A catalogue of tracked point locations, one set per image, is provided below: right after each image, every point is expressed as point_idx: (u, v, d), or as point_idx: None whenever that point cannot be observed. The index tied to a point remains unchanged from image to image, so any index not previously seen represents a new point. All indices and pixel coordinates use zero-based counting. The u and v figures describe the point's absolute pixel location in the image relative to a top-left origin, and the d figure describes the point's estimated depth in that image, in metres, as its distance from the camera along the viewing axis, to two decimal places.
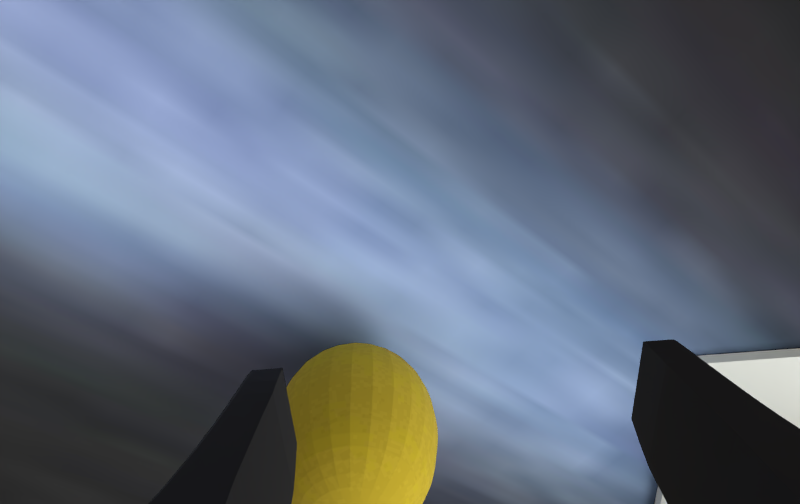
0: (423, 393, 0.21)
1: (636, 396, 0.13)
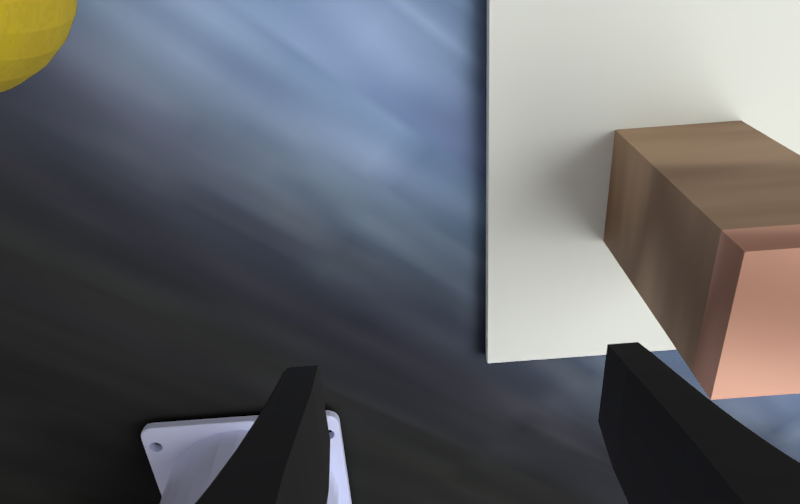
0: None
1: (602, 399, 0.13)
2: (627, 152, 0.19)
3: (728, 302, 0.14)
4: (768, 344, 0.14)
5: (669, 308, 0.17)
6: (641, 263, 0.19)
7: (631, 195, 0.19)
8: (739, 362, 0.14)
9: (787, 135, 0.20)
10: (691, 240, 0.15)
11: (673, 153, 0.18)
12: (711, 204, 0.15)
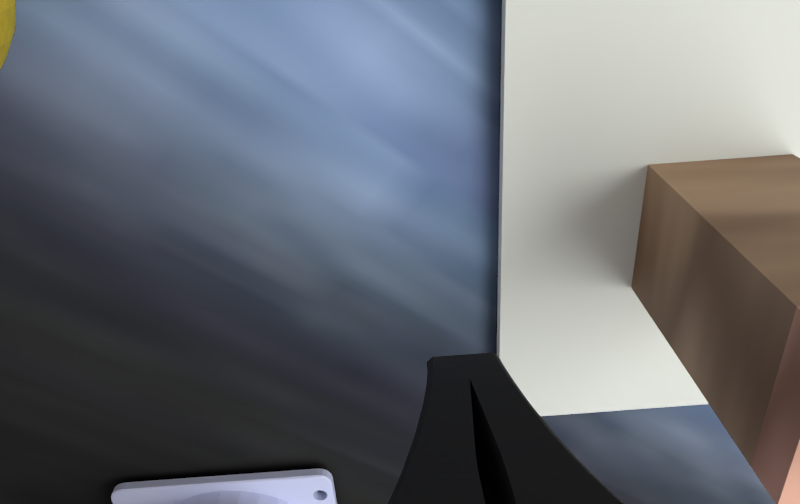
0: None
1: None
2: (663, 192, 0.17)
3: None
4: None
5: (718, 383, 0.14)
6: (681, 323, 0.16)
7: (668, 242, 0.16)
8: None
9: None
10: (752, 310, 0.13)
11: (720, 196, 0.15)
12: (778, 269, 0.12)
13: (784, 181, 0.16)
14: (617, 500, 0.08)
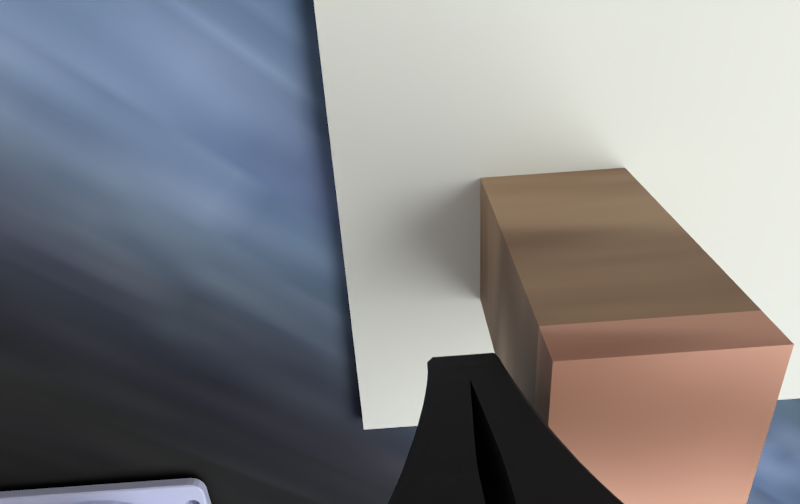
0: None
1: None
2: (487, 206, 0.17)
3: (546, 416, 0.11)
4: (600, 463, 0.12)
5: None
6: (499, 337, 0.16)
7: (491, 256, 0.16)
8: None
9: (679, 184, 0.18)
10: (523, 327, 0.13)
11: (531, 211, 0.15)
12: (543, 287, 0.12)
13: (600, 196, 0.16)
14: (617, 500, 0.08)
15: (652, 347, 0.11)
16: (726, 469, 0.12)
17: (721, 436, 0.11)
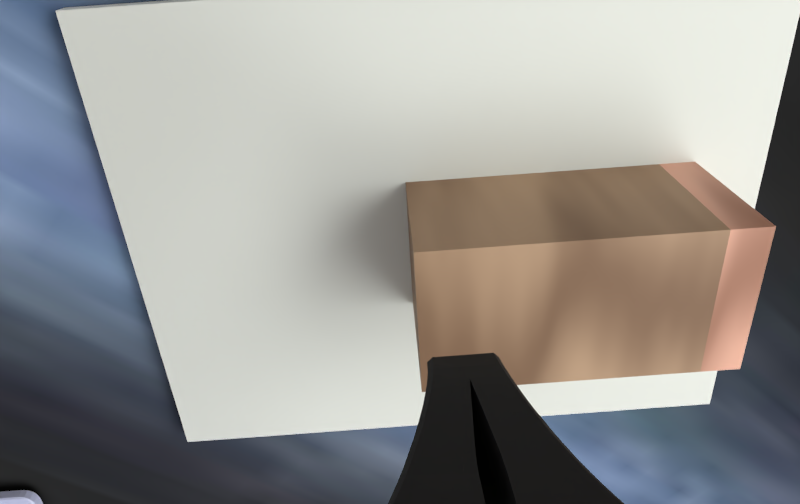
0: None
1: None
2: (467, 261, 0.14)
3: (755, 279, 0.15)
4: None
5: (637, 351, 0.16)
6: (553, 351, 0.15)
7: (499, 300, 0.15)
8: None
9: None
10: (671, 267, 0.14)
11: (511, 226, 0.15)
12: (666, 226, 0.14)
13: (474, 195, 0.16)
14: (617, 500, 0.08)
15: (728, 195, 0.15)
16: None
17: None
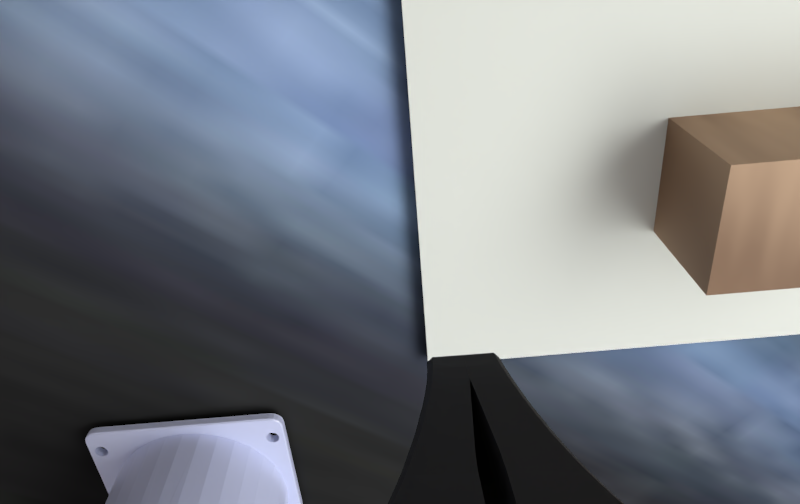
0: None
1: None
2: (775, 173, 0.16)
3: None
4: None
5: None
6: None
7: (793, 208, 0.17)
8: None
9: None
10: None
11: None
12: None
13: (743, 125, 0.19)
14: (617, 500, 0.08)
15: None
16: None
17: None
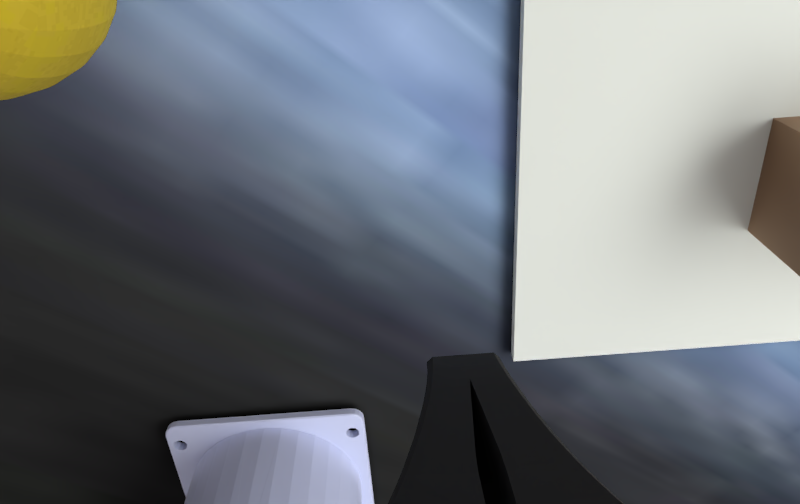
0: None
1: None
2: None
3: None
4: None
5: None
6: None
7: None
8: None
9: None
10: None
11: None
12: None
13: None
14: (617, 500, 0.08)
15: None
16: None
17: None
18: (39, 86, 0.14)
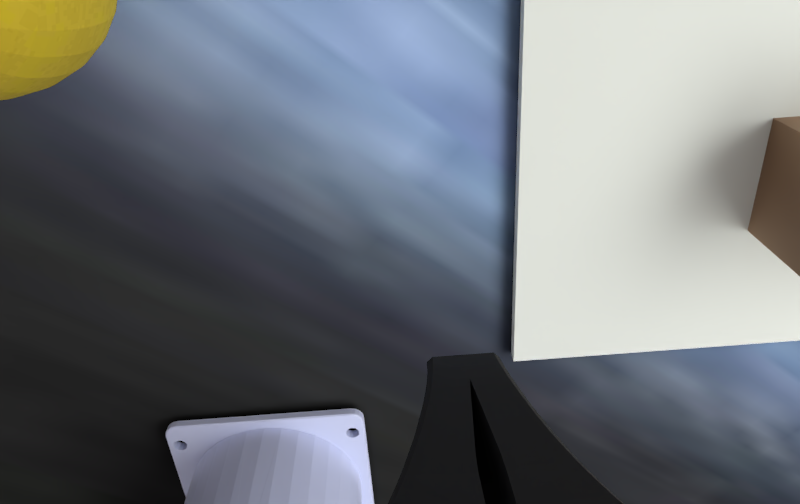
0: None
1: None
2: None
3: None
4: None
5: None
6: None
7: None
8: None
9: None
10: None
11: None
12: None
13: None
14: (617, 500, 0.08)
15: None
16: None
17: None
18: (39, 86, 0.14)
